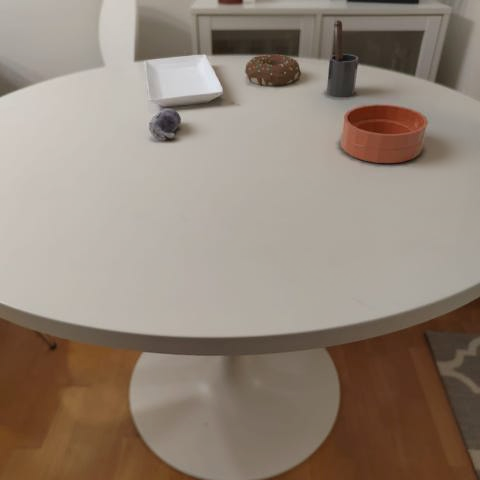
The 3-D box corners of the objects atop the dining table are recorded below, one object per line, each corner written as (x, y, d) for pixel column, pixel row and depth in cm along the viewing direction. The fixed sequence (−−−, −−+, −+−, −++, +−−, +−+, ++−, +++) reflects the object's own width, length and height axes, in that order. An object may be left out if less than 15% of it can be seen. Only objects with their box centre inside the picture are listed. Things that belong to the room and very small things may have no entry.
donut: (243, 74, 120) (242, 53, 117) (295, 71, 120) (296, 50, 117) (247, 92, 109) (246, 69, 106) (303, 89, 110) (305, 66, 106)
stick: (339, 89, 106) (337, 18, 94) (345, 91, 105) (343, 19, 93) (335, 93, 105) (332, 21, 93) (341, 94, 104) (339, 22, 93)
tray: (150, 114, 100) (147, 98, 98) (145, 72, 124) (143, 59, 121) (225, 107, 102) (225, 91, 100) (207, 67, 126) (206, 53, 123)
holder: (336, 88, 109) (340, 52, 104) (359, 94, 105) (364, 57, 100) (320, 95, 106) (323, 58, 100) (343, 101, 102) (348, 63, 97)
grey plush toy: (166, 150, 89) (173, 131, 97) (181, 128, 86) (186, 110, 94) (142, 134, 87) (151, 116, 95) (156, 111, 84) (164, 94, 92)
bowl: (367, 127, 91) (371, 99, 88) (434, 146, 84) (442, 116, 80) (325, 150, 84) (328, 121, 80) (394, 174, 76) (401, 142, 73)
